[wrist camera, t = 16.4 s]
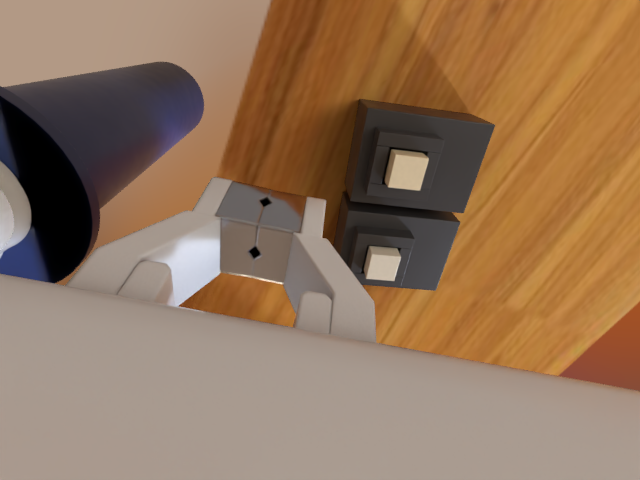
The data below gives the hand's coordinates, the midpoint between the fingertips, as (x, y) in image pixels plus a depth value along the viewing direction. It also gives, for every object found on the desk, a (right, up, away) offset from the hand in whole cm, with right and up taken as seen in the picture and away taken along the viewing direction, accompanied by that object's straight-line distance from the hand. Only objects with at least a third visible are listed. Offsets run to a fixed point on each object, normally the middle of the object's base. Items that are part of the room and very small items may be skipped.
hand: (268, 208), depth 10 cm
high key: (+9, +6, +23) cm, 26 cm away
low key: (+8, -3, +28) cm, 29 cm away
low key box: (+9, 0, +34) cm, 35 cm away
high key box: (+11, +9, +29) cm, 32 cm away
